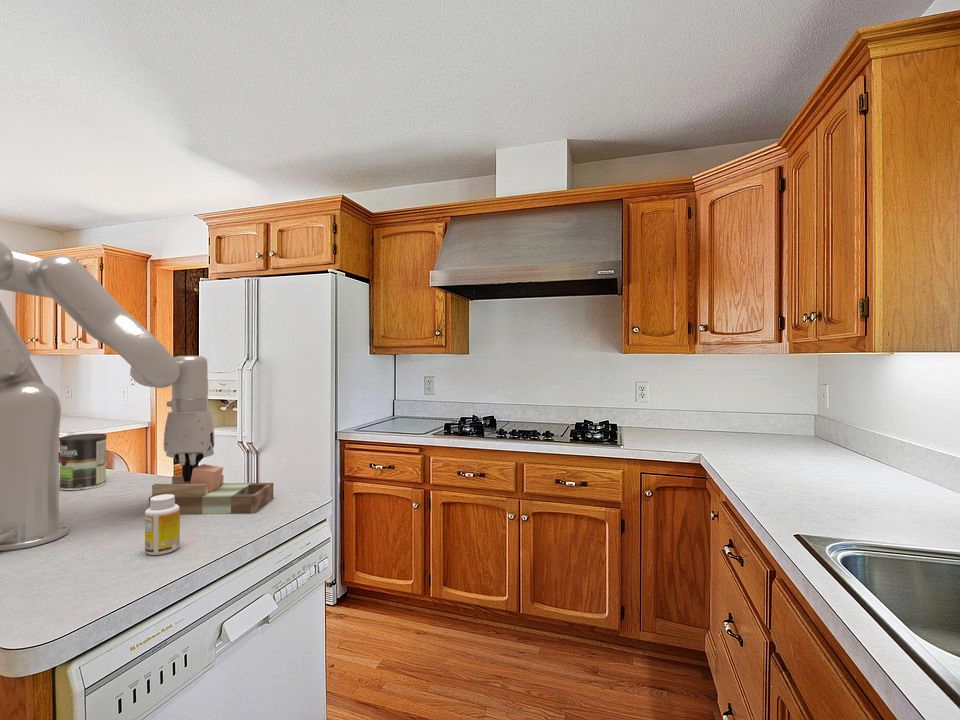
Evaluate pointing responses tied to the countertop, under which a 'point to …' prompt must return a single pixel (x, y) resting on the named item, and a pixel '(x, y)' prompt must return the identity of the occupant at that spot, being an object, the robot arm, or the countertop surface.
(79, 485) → the coffee can
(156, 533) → the supplement bottle
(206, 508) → the brown rectangular tray
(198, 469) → the block
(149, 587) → the countertop surface
